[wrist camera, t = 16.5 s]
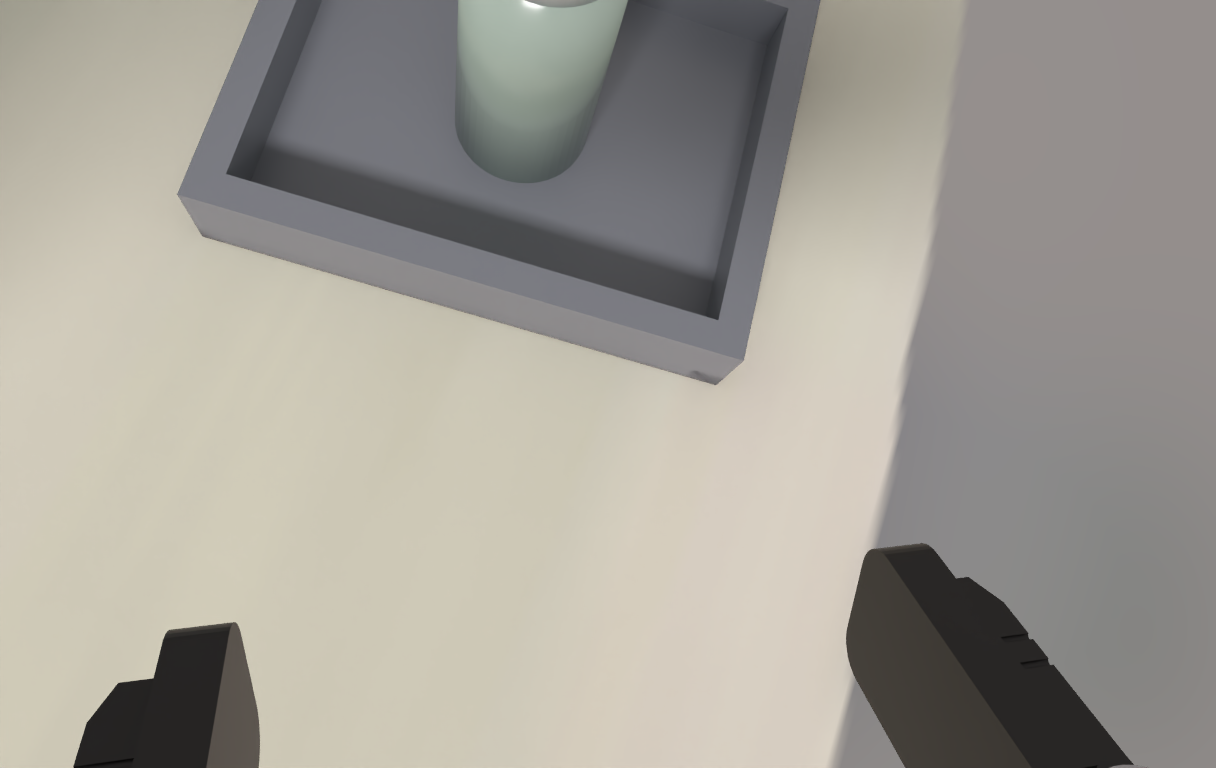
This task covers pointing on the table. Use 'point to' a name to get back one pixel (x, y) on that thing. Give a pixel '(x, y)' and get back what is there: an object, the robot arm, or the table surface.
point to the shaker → (530, 81)
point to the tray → (508, 211)
